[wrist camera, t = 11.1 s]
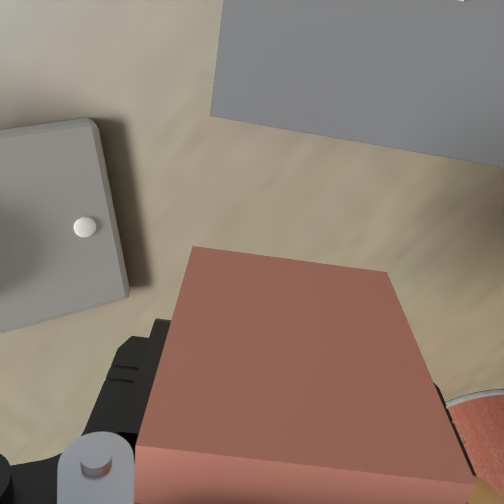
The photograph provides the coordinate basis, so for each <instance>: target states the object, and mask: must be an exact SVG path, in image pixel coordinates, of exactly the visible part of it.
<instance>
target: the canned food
mask: <svg viewBox="0 0 504 504" xmlns="http://www.w3.org/2000/svg"><path fill="white" fill-rule="evenodd" d="M446 409H448V410H449V412H450V415H451V417H452V419H453V420H452V423H454V424H455V426H456V429H457V431H458V433H459V436H460V438H461V440H462V443H463V445H464V447H465V450H466V452H467V454H468V457H469V459H470V461H471V464H472V466H473V468H474V471H475V473H476V475H477V477H478V478H480V479H482V480H484V481H485V482H487V483H488V484H490V485H491V486H492V487H493V488H494V489H495V490H497V491H498V493H499V494H500V495H501V496H502V497H503V499H504V389H499V390H489V391H483V392H477V393H473V394H469V395H465V396H462V397H459V398H456V399H453V400H451V401H448V402H446Z"/></svg>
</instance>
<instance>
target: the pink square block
mask: <svg viewBox="0 0 504 504" xmlns="http://www.w3.org/2000/svg"><path fill="white" fill-rule="evenodd" d="M476 486H477V485H476V482H475V480H474V477H473V475H472V473H471V470H470V468H469V466H468V463H467V461H466V459H465V456H464V454H463V451H462V449H461V447H460V444H459V442H458V440H457V437H456V435H455V433H454V430H453V428H452V425H451V423H450V421H449V418H448V416H447V414H446V411H445V409H444V407H443V404H442V402H441V399H440V397H439V395H438V392H437V390H436V388H435V385H434V383H433V381H432V378H431V376H430V373H429V371H428V369H427V366H426V364H425V362H424V359H423V357H422V354H421V352H420V350H419V347H418V345H417V343H416V340H415V338H414V336H413V333H412V331H411V328H410V326H409V324H408V321H407V319H406V317H405V314H404V312H403V310H402V307H401V305H400V302H399V300H398V298H397V295H396V293H395V291H394V288H393V286H392V284H391V281H390V279H389V276H388V274H387V272H380V271H372V270H365V269H357V268H350V267H343V266H335V265H328V264H321V263H313V262H306V261H298V260H291V259H284V258H276V257H269V256H262V255H254V254H247V253H240V252H232V251H225V250H217V249H210V248H203V247H195V246H193V247H192V251H191V254H190V258H189V261H188V265H187V268H186V272H185V275H184V279H183V282H182V286H181V289H180V293H179V296H178V300H177V303H176V306H175V310H174V313H173V317H172V320H171V324H170V327H169V331H168V334H167V338H166V341H165V345H164V348H163V352H162V355H161V359H160V362H159V366H158V369H157V373H156V376H155V379H154V383H153V386H152V390H151V393H150V397H149V400H148V404H147V407H146V411H145V414H144V418H143V421H142V425H141V428H140V432H139V435H138V439H137V442H136V447H135V479H134V502H136V503H140V504H466V503H467V501H468V499H469V498H470V496H471V494H472V493H473V491H474V489H475V487H476Z"/></svg>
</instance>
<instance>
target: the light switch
mask: <svg viewBox="0 0 504 504" xmlns="http://www.w3.org/2000/svg"><path fill="white" fill-rule="evenodd" d="M129 293H130V288H129V283H128V278H127V273H126V268H125V262H124V257H123V252H122V247H121V242H120V236H119V231H118V226H117V221H116V216H115V211H114V205H113V200H112V195H111V190H110V185H109V180H108V174H107V169H106V164H105V159H104V154H103V148H102V143H101V138H100V133H99V128H98V127H97V125H96V124H95V123H94V121H93V120H92V119H89V118H82V119H75V120H67V121H60V122H53V123H46V124H38V125H31V126H24V127H17V128H10V129H2V130H0V334H1V333H4V332H8V331H11V330H15V329H18V328H22V327H25V326H29V325H33V324H36V323H40V322H43V321H47V320H50V319H54V318H57V317H61V316H65V315H68V314H72V313H75V312H79V311H82V310H86V309H89V308H93V307H97V306H100V305H104V304H107V303H111V302H114V301H118V300H121V299H125V298H127V297H128V296H129Z"/></svg>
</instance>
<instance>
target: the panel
mask: <svg viewBox="0 0 504 504" xmlns="http://www.w3.org/2000/svg"><path fill="white" fill-rule="evenodd" d="M210 116H213V117H218V118H224V119H230V120H236V121H241V122H247V123H253V124H258V125H264V126H270V127H275V128H281V129H287V130H293V131H298V132H304V133H310V134H315V135H321V136H327V137H333V138H338V139H344V140H350V141H355V142H361V143H367V144H373V145H378V146H384V147H390V148H395V149H401V150H407V151H413V152H418V153H424V154H430V155H435V156H441V157H447V158H453V159H458V160H464V161H470V162H475V163H481V164H487V165H493V166H498V167H504V0H224V1H223V9H222V18H221V26H220V35H219V43H218V52H217V60H216V69H215V78H214V86H213V95H212V103H211V112H210Z"/></svg>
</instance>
